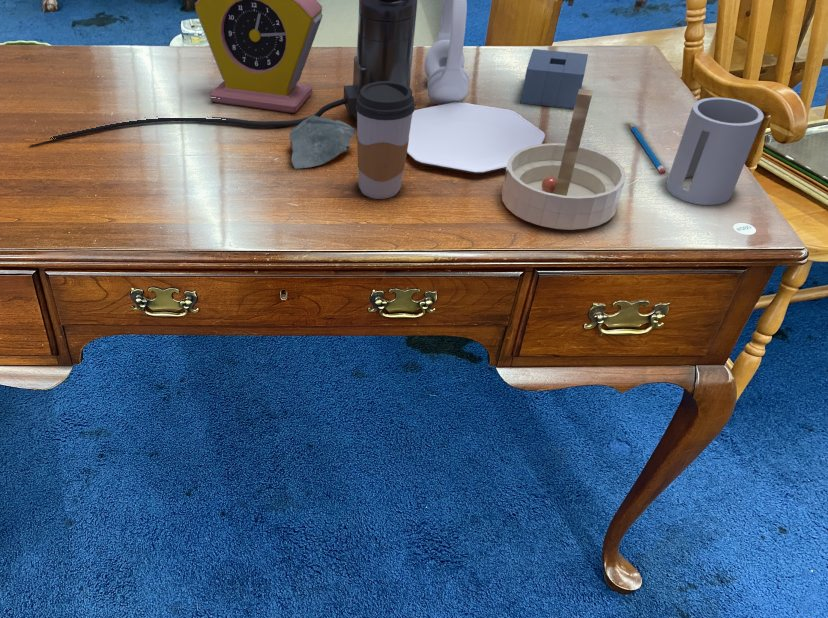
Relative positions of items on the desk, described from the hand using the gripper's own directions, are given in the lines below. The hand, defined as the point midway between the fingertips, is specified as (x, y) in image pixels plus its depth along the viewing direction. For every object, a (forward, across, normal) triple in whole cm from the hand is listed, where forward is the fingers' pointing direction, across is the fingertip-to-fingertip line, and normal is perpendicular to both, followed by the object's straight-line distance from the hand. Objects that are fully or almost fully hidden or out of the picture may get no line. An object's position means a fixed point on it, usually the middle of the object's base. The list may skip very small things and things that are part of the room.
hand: (603, 6), depth 108 cm
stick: (+24, 0, +10) cm, 26 cm away
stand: (-3, -5, +38) cm, 38 cm away
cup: (+17, +20, +18) cm, 31 cm away
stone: (+21, -38, +13) cm, 46 cm away
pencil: (+9, +12, +26) cm, 30 cm away
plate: (+13, -16, +21) cm, 30 cm away
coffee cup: (+27, -26, +8) cm, 38 cm away
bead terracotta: (+21, -2, +10) cm, 24 cm away
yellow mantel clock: (+8, -55, +26) cm, 61 cm away
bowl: (+24, 0, +10) cm, 26 cm away
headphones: (+1, -23, +34) cm, 41 cm away
